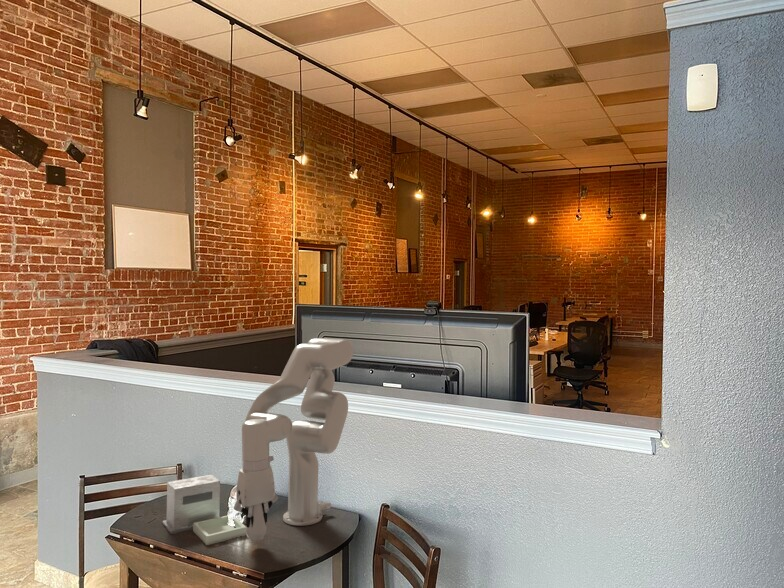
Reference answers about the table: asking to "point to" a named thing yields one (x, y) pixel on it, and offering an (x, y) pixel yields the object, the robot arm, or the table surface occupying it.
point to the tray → (218, 530)
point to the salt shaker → (257, 524)
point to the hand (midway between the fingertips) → (256, 526)
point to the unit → (191, 502)
